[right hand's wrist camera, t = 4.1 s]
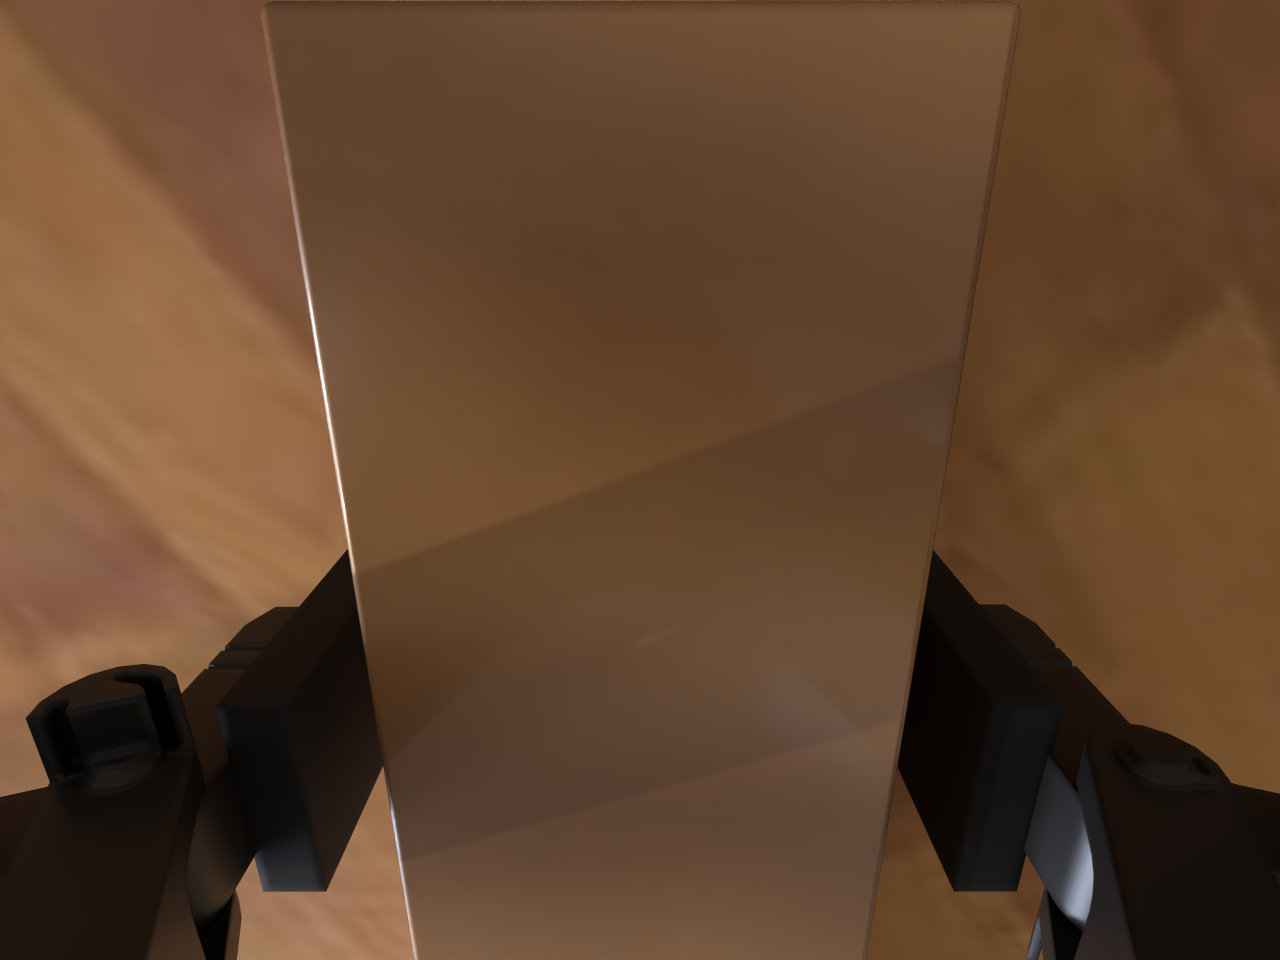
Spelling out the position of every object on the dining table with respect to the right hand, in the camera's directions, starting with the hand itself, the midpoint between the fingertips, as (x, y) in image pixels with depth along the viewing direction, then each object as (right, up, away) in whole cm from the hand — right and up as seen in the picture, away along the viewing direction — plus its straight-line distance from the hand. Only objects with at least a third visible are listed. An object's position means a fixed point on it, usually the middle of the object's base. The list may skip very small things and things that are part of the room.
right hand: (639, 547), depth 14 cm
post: (0, -30, +13) cm, 33 cm away
